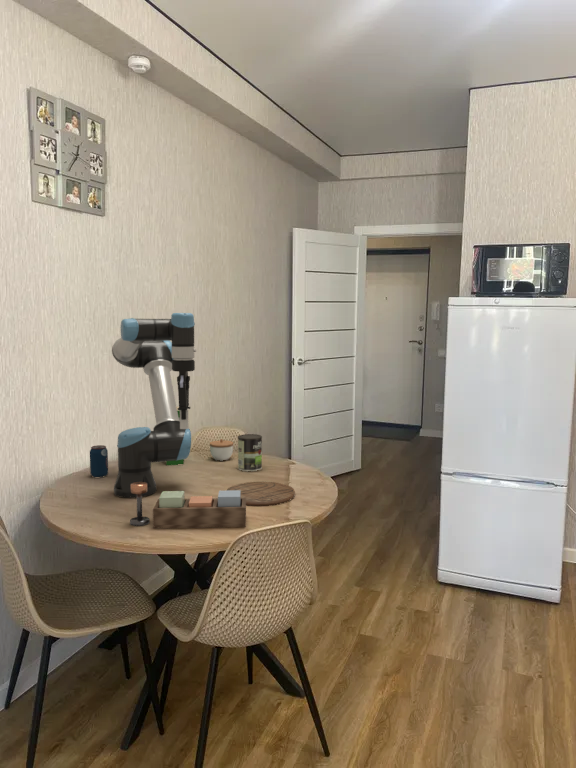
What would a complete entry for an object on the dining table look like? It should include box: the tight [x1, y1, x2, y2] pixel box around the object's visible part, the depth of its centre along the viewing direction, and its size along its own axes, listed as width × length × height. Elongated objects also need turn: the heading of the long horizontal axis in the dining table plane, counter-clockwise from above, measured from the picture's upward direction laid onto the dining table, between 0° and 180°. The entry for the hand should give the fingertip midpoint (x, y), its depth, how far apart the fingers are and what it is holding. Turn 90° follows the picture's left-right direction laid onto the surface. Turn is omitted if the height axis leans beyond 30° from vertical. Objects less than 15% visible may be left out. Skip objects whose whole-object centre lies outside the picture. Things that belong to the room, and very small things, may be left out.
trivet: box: [226, 481, 296, 507], centre depth 208 cm, size 25×25×2 cm
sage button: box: [158, 490, 186, 508], centre depth 179 cm, size 7×7×4 cm
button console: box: [152, 497, 247, 529], centre depth 180 cm, size 28×10×6 cm, turn 93°
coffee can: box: [237, 433, 263, 472], centre depth 245 cm, size 10×10×14 cm
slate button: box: [217, 489, 241, 507], centre depth 180 cm, size 7×7×4 cm
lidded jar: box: [209, 438, 234, 462], centre depth 261 cm, size 11×11×9 cm
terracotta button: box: [189, 495, 213, 507], centre depth 180 cm, size 7×7×4 cm
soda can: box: [89, 445, 109, 478], centre depth 232 cm, size 7×7×12 cm
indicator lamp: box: [129, 482, 151, 527], centre depth 178 cm, size 6×6×12 cm
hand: (184, 428), depth 195 cm, fingers closed
